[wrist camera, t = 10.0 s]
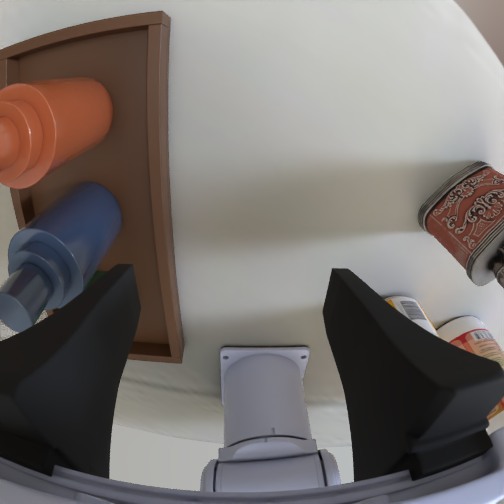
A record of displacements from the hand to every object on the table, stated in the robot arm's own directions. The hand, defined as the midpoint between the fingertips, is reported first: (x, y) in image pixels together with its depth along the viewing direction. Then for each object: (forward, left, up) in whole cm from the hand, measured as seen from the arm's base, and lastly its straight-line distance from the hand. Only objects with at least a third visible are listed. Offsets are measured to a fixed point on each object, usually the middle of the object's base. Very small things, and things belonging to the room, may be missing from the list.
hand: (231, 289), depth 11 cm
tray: (-2, +10, -10) cm, 15 cm away
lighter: (+1, -17, -11) cm, 20 cm away
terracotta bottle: (+6, +10, -10) cm, 15 cm away
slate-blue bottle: (-2, +10, -10) cm, 14 cm away
